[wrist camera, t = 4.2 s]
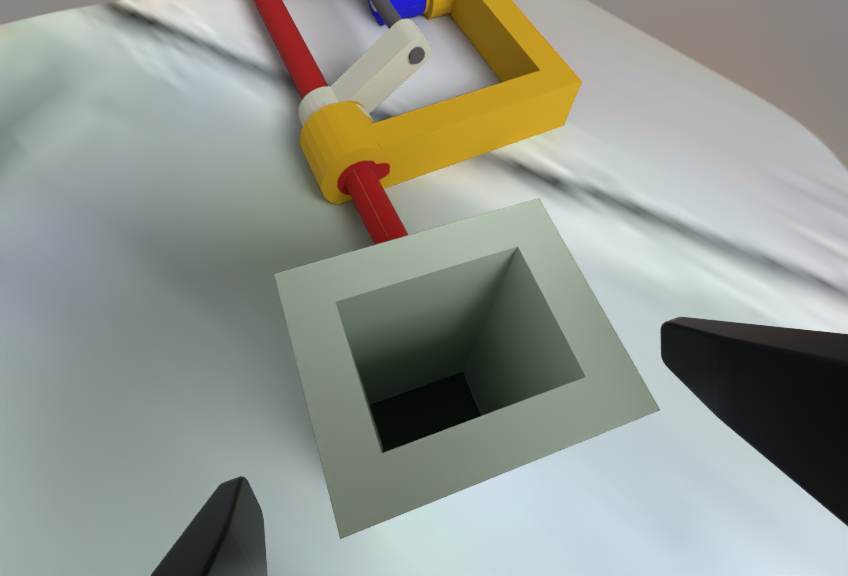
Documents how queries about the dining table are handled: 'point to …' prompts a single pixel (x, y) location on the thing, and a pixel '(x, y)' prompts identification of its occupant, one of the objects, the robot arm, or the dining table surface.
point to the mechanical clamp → (426, 127)
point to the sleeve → (453, 357)
